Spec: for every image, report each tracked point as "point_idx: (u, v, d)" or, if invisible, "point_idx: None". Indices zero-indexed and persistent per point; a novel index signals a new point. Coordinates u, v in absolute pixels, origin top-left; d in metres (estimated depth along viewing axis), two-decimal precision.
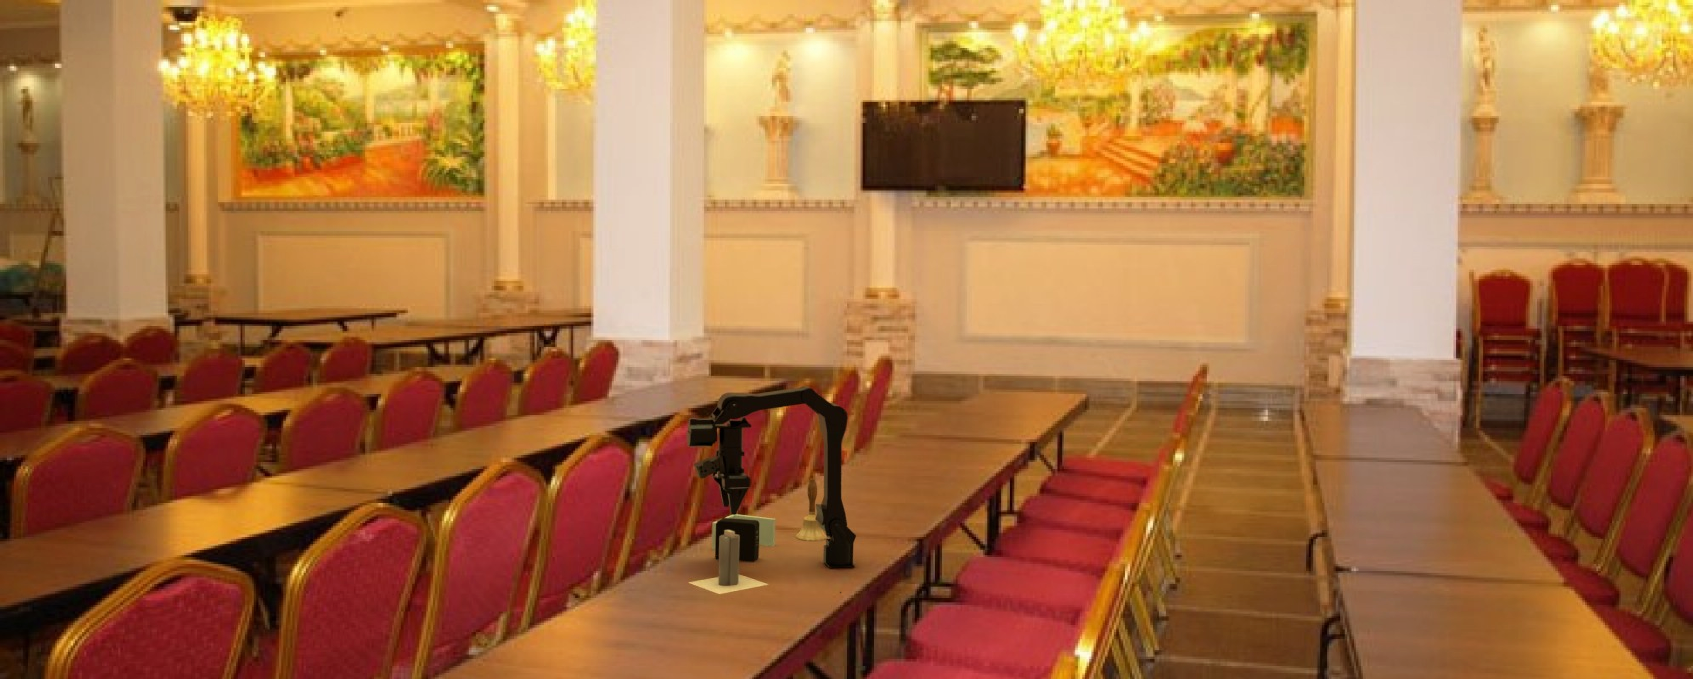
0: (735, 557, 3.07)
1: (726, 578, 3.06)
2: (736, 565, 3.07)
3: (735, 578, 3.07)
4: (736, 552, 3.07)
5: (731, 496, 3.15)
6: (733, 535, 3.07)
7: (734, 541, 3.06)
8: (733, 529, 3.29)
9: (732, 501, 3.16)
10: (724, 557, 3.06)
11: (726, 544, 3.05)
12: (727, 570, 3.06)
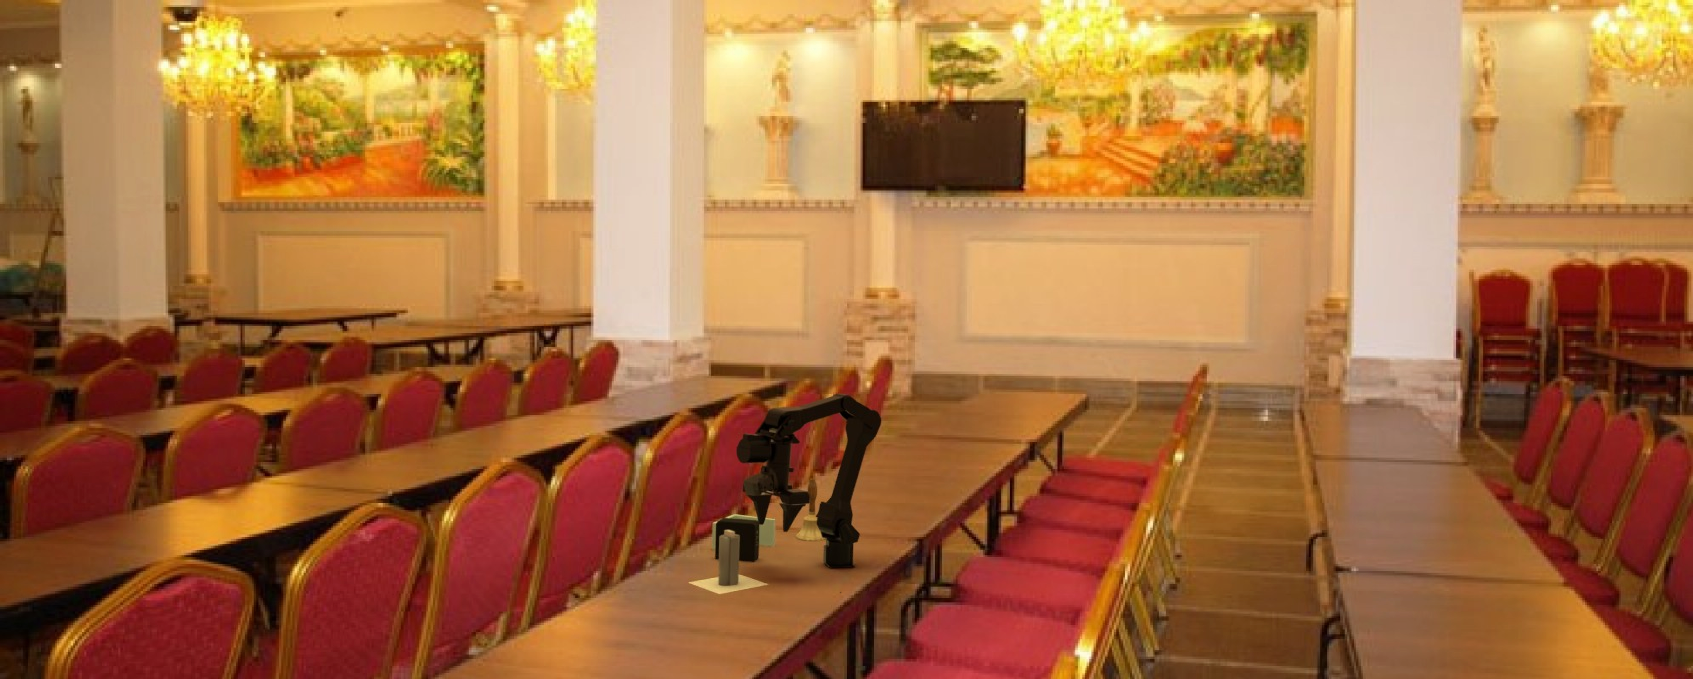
0: (735, 557, 3.07)
1: (726, 578, 3.06)
2: (736, 565, 3.07)
3: (735, 578, 3.07)
4: (736, 552, 3.07)
5: (788, 513, 3.12)
6: (733, 535, 3.07)
7: (734, 541, 3.06)
8: (733, 529, 3.29)
9: (787, 518, 3.12)
10: (724, 557, 3.06)
11: (726, 544, 3.05)
12: (727, 570, 3.06)
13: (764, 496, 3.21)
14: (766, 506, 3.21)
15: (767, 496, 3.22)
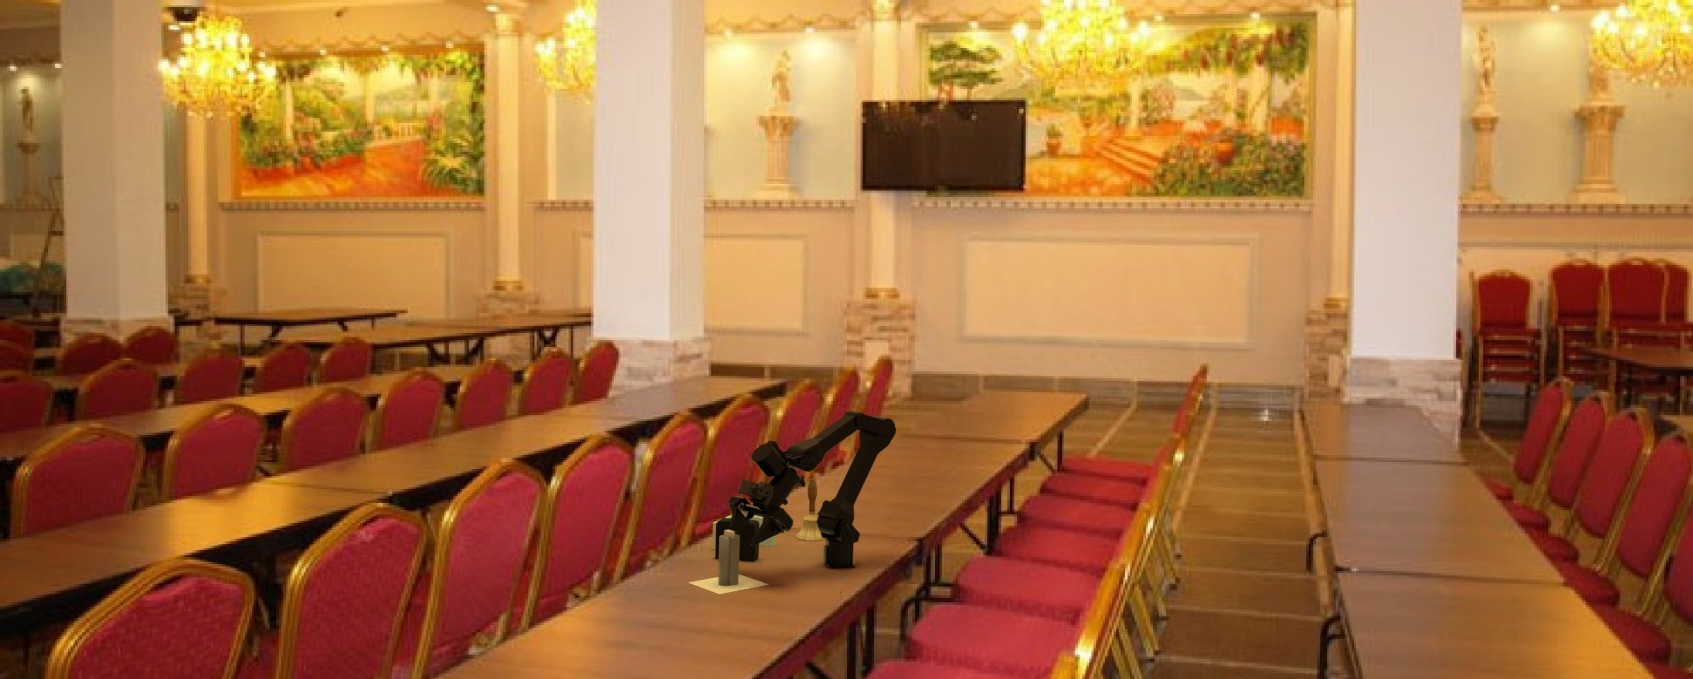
0: (735, 557, 3.07)
1: (726, 578, 3.06)
2: (736, 565, 3.07)
3: (735, 578, 3.07)
4: (736, 552, 3.07)
5: (765, 527, 3.06)
6: (733, 535, 3.07)
7: (734, 541, 3.06)
8: None
9: (761, 533, 3.06)
10: (724, 557, 3.06)
11: (726, 544, 3.05)
12: (727, 570, 3.06)
13: (744, 517, 3.16)
14: (740, 526, 3.16)
15: (746, 519, 3.17)
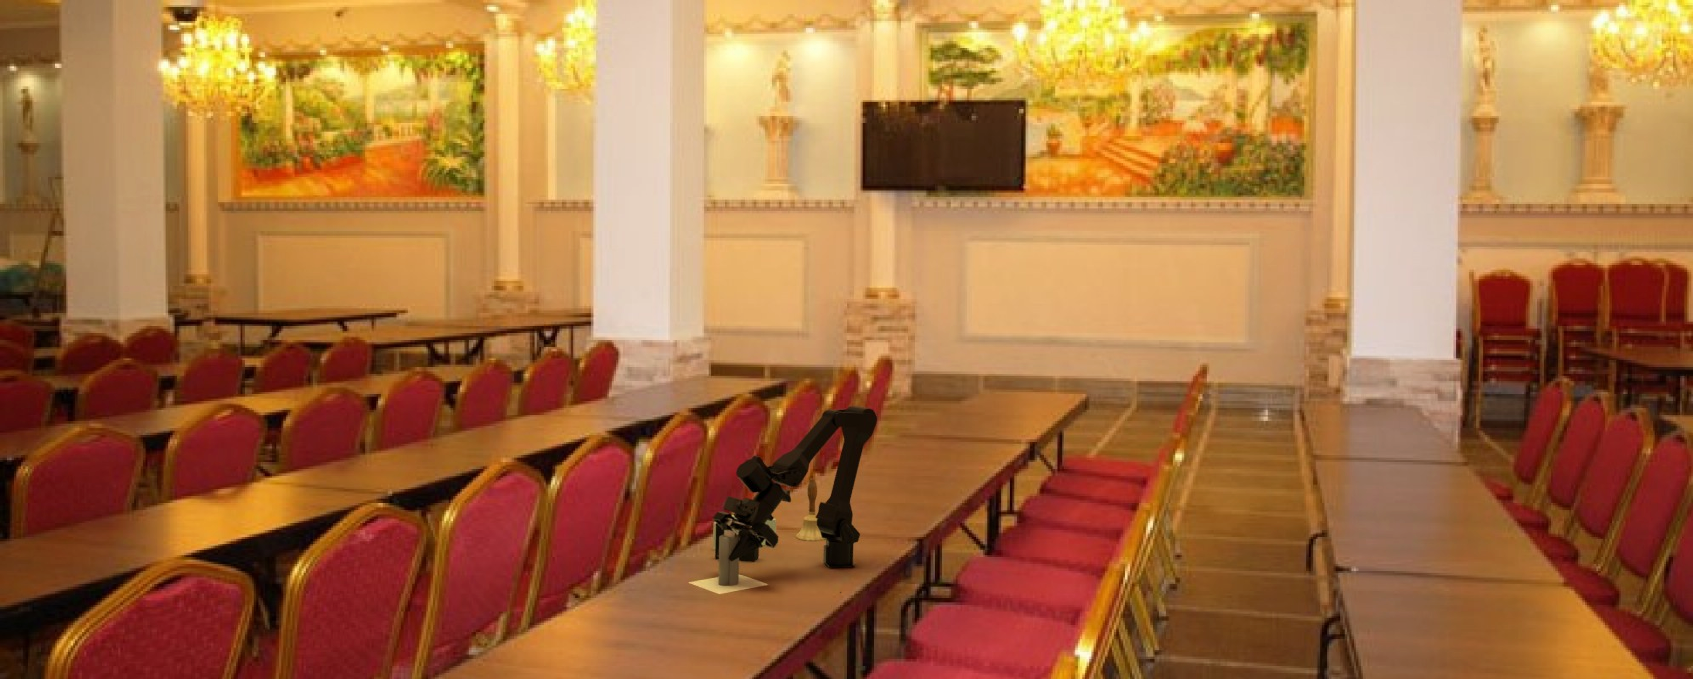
0: None
1: (726, 578, 3.06)
2: (736, 565, 3.07)
3: (735, 578, 3.07)
4: None
5: (743, 542, 3.06)
6: (733, 535, 3.07)
7: (734, 541, 3.06)
8: None
9: (740, 548, 3.06)
10: (724, 557, 3.06)
11: (726, 544, 3.05)
12: (727, 570, 3.06)
13: None
14: None
15: None
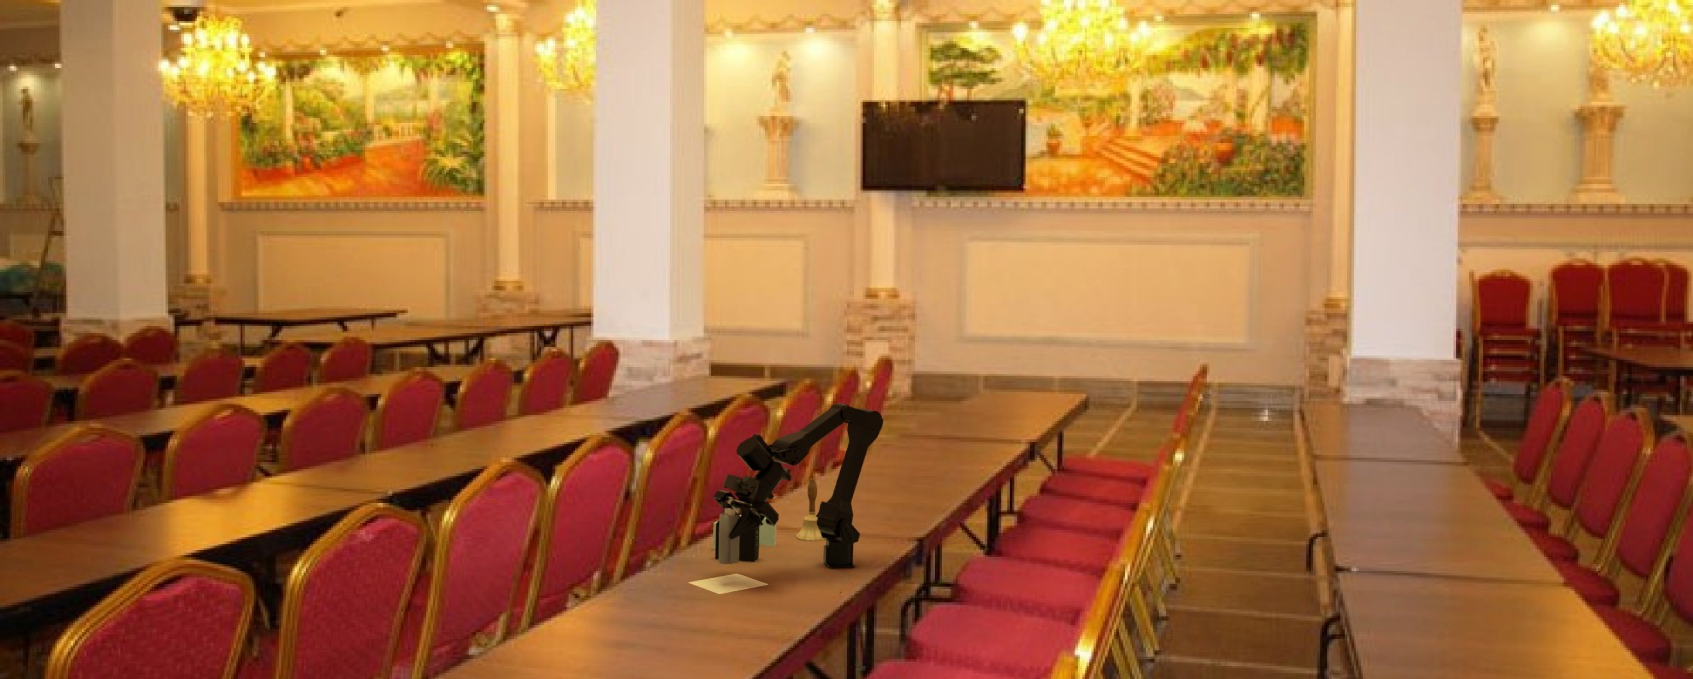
0: None
1: (726, 556, 3.06)
2: (736, 543, 3.07)
3: (735, 556, 3.07)
4: None
5: (744, 520, 3.05)
6: (733, 513, 3.06)
7: (734, 519, 3.06)
8: None
9: (740, 526, 3.05)
10: (724, 535, 3.05)
11: (726, 522, 3.05)
12: (727, 548, 3.06)
13: None
14: None
15: None
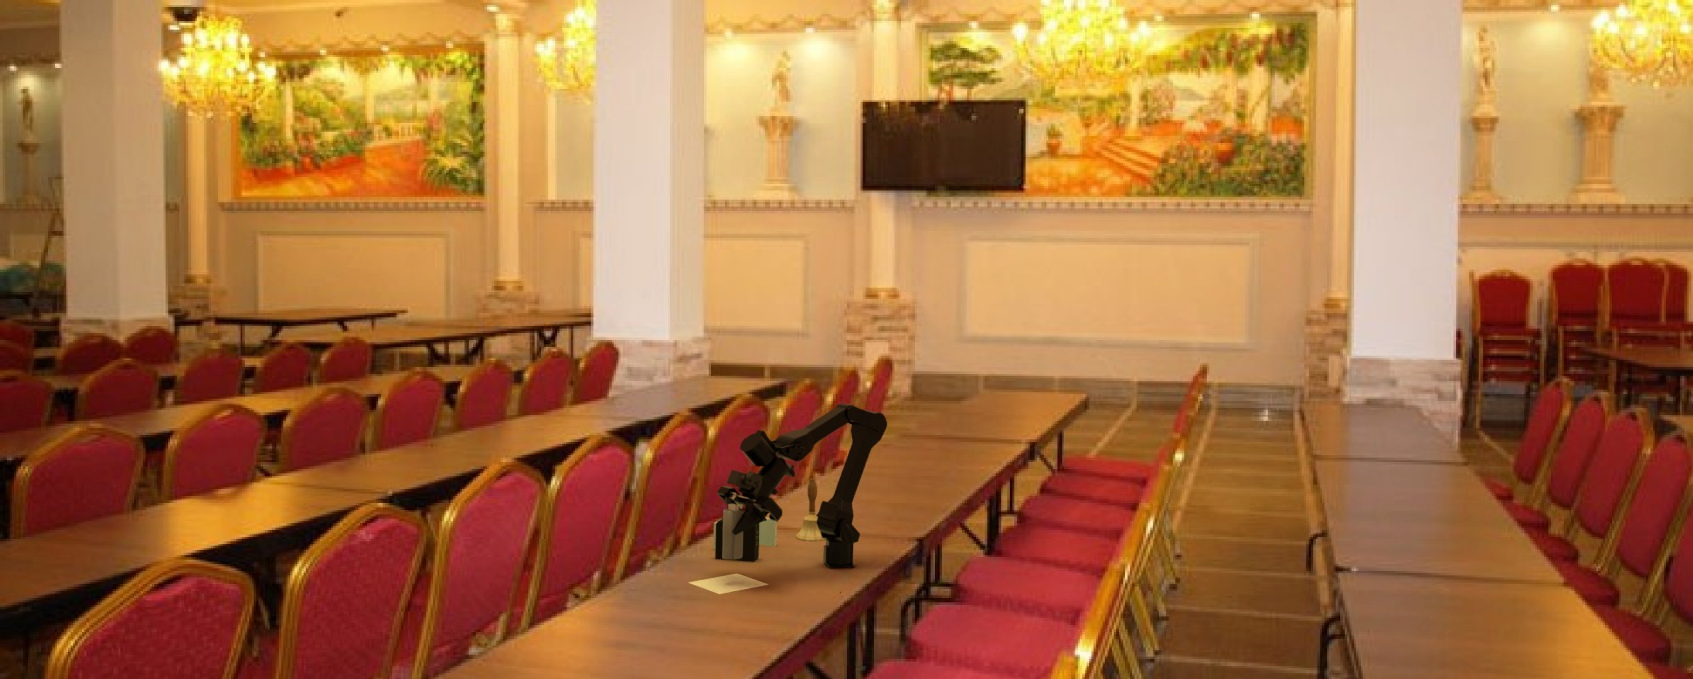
0: None
1: (730, 552, 3.06)
2: (740, 539, 3.07)
3: (739, 552, 3.07)
4: None
5: (747, 516, 3.06)
6: (737, 509, 3.07)
7: (738, 514, 3.06)
8: None
9: (744, 521, 3.06)
10: (728, 531, 3.06)
11: (730, 517, 3.06)
12: (731, 544, 3.06)
13: None
14: None
15: None
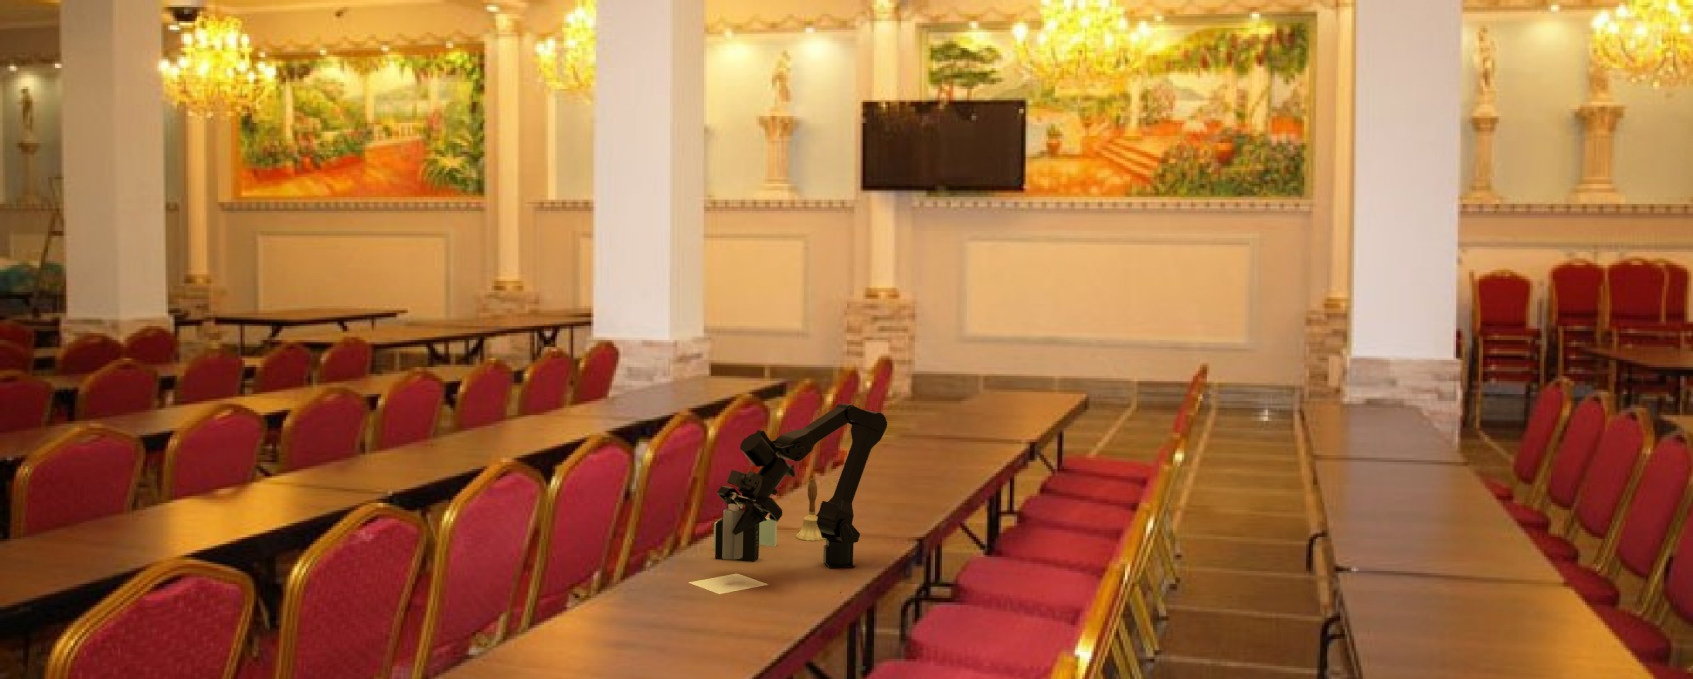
0: None
1: (730, 552, 3.06)
2: (740, 539, 3.07)
3: (739, 552, 3.07)
4: None
5: (747, 516, 3.06)
6: (737, 509, 3.07)
7: (738, 514, 3.06)
8: None
9: (744, 521, 3.06)
10: (728, 531, 3.06)
11: (730, 517, 3.06)
12: (731, 544, 3.06)
13: None
14: None
15: None
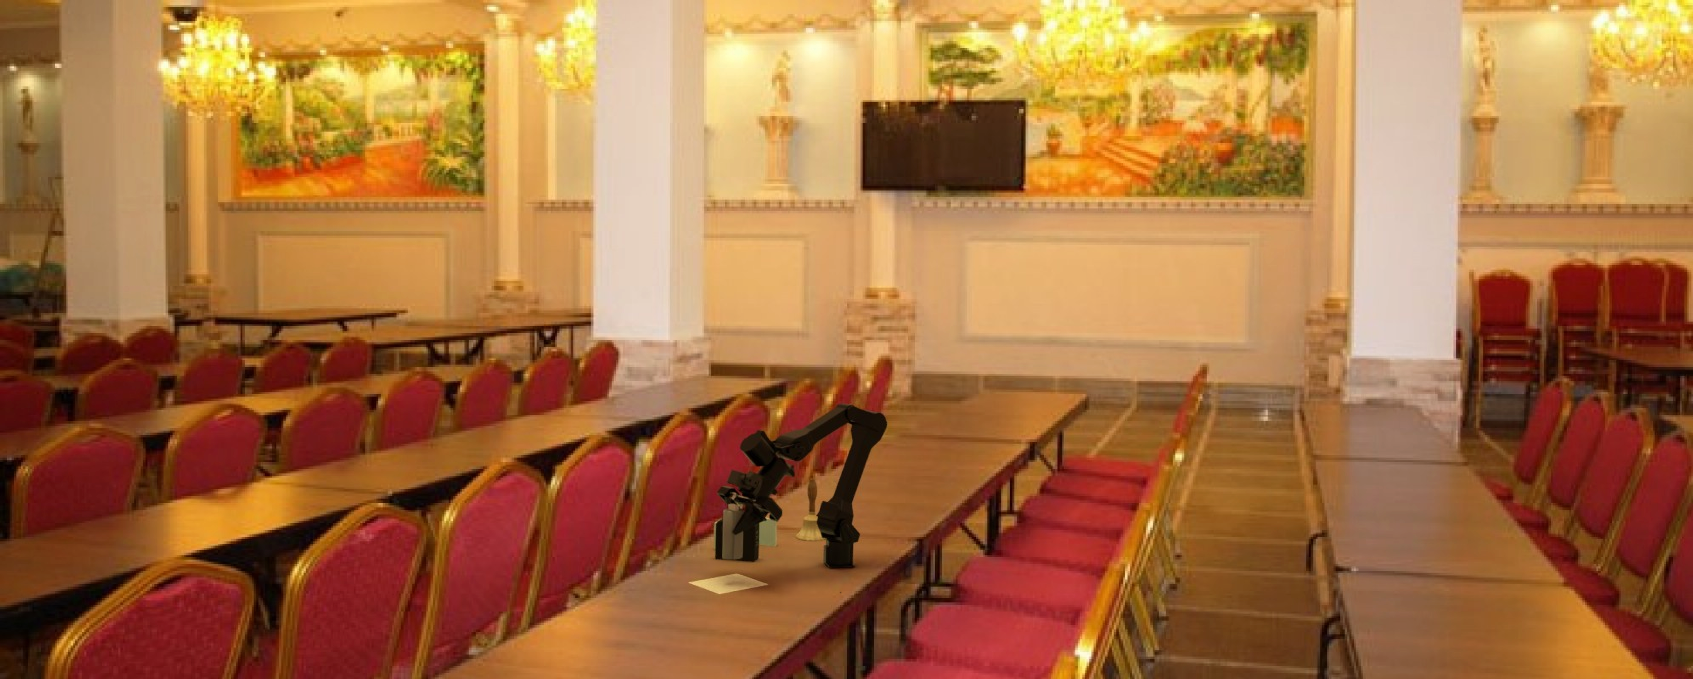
0: None
1: (730, 552, 3.06)
2: (740, 539, 3.07)
3: (739, 552, 3.07)
4: None
5: (747, 516, 3.06)
6: (737, 509, 3.07)
7: (738, 514, 3.06)
8: None
9: (744, 521, 3.06)
10: (728, 531, 3.06)
11: (730, 517, 3.06)
12: (731, 544, 3.06)
13: None
14: None
15: None
